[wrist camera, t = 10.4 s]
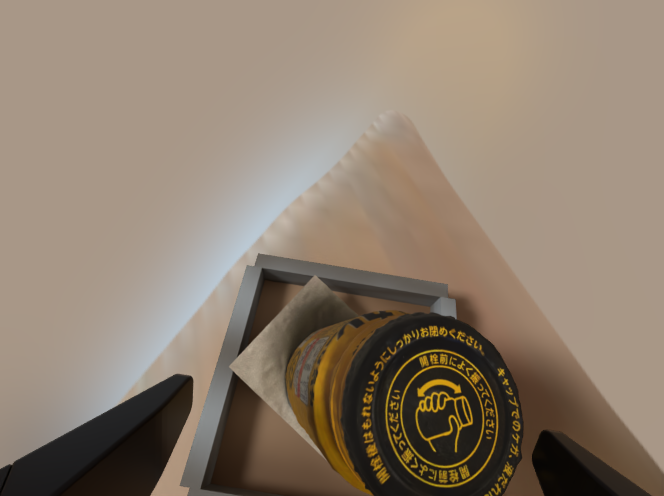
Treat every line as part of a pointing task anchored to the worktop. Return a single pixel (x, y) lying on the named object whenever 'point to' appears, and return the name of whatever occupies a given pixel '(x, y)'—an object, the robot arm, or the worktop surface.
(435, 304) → the grey square frame
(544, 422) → the worktop surface
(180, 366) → the worktop surface
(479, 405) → the condiment
